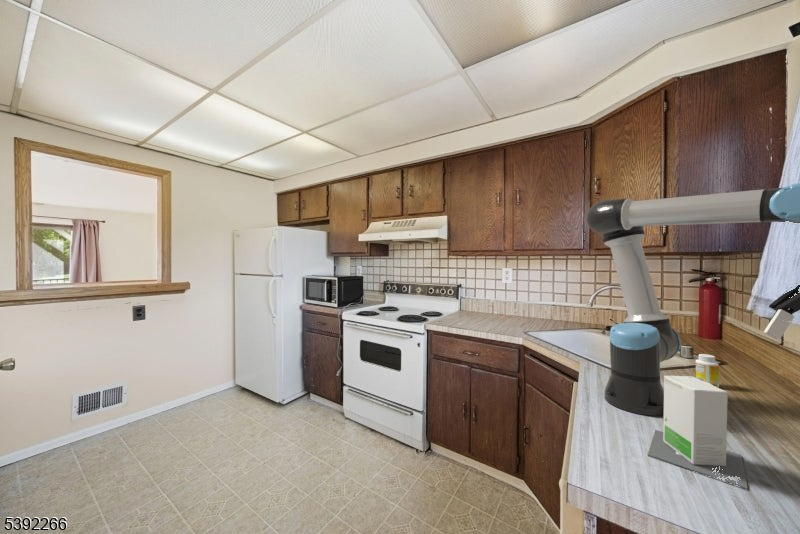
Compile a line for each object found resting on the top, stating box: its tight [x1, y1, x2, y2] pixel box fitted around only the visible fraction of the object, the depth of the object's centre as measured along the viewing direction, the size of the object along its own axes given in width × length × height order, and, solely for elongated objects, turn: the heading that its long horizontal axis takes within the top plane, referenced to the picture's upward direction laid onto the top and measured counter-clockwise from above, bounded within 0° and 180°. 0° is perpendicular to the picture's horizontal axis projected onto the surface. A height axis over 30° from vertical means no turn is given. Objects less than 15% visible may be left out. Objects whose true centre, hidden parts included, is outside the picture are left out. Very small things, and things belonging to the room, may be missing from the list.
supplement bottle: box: [695, 353, 720, 388], centre depth 101 cm, size 6×6×10 cm
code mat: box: [647, 429, 749, 491], centre depth 63 cm, size 14×14×1 cm
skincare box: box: [662, 375, 729, 466], centre depth 63 cm, size 8×7×16 cm
